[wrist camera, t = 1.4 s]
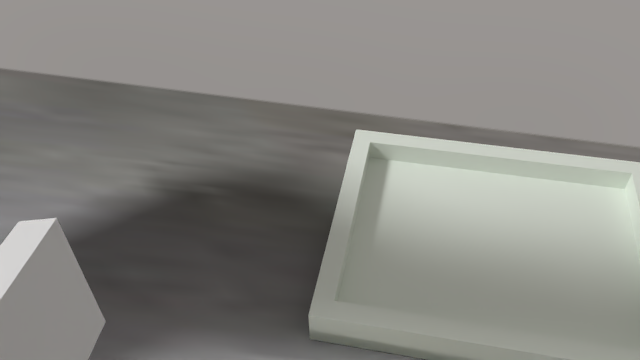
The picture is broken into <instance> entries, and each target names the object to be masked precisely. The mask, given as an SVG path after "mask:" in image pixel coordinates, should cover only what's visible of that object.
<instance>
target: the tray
mask: <svg viewBox="0 0 640 360" xmlns="http://www.w3.org/2000/svg"><path fill="white" fill-rule="evenodd" d="M308 317H309V333H310V339H311V340H317V341H323V342H329V343H334V344H340V345H346V346H351V347H357V348H363V349H368V350H374V351H380V352H386V353H391V354H397V355H403V356H408V357H414V358H420V359H426V360H640V163H639V162H631V161H622V160H614V159H605V158H596V157H588V156H579V155H571V154H562V153H553V152H545V151H536V150H528V149H519V148H511V147H502V146H493V145H485V144H476V143H468V142H459V141H450V140H442V139H433V138H425V137H416V136H407V135H399V134H390V133H382V132H373V131H364V130H356V132H355V136H354V140H353V144H352V148H351V151H350V155H349V159H348V163H347V167H346V171H345V175H344V179H343V183H342V186H341V190H340V194H339V198H338V202H337V206H336V210H335V214H334V218H333V221H332V225H331V229H330V233H329V237H328V241H327V245H326V249H325V253H324V256H323V260H322V264H321V268H320V272H319V276H318V280H317V284H316V288H315V291H314V295H313V299H312V303H311V307H310V311H309V315H308Z"/></svg>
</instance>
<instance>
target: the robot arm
mask: <svg viewBox="0 0 640 360" xmlns="http://www.w3.org/2000/svg"><path fill="white" fill-rule="evenodd" d="M105 322H106V321H105V319H104V317H103V315H102V313H101V310H100V308H99V306H98V304H97V302H96V300H95V298H94V296H93V294H92V291H91V289H90V287H89V285H88V283H87V281H86V279H85V277H84V275H83V272H82V270H81V268H80V266H79V264H78V262H77V260H76V258H75V256H74V253H73V251H72V249H71V247H70V245H69V243H68V241H67V239H66V237H65V234H64V232H63V230H62V228H61V226H60V224H59V222H58V220H57V218H51V219H41V220H30V221H20V222H18V223H17V225H16V226H15V227H14V228H13V230H12V231H11V232H10V234H9V235H8V236H7V238H6V239H5V240H4V241H3V243H2V244H1V245H0V360H88V359H89V357H90V355H91V353H92V350H93V348H94V346H95V344H96V342H97V340H98V337H99V335H100V333H101V331H102V329H103V327H104V324H105Z"/></svg>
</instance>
